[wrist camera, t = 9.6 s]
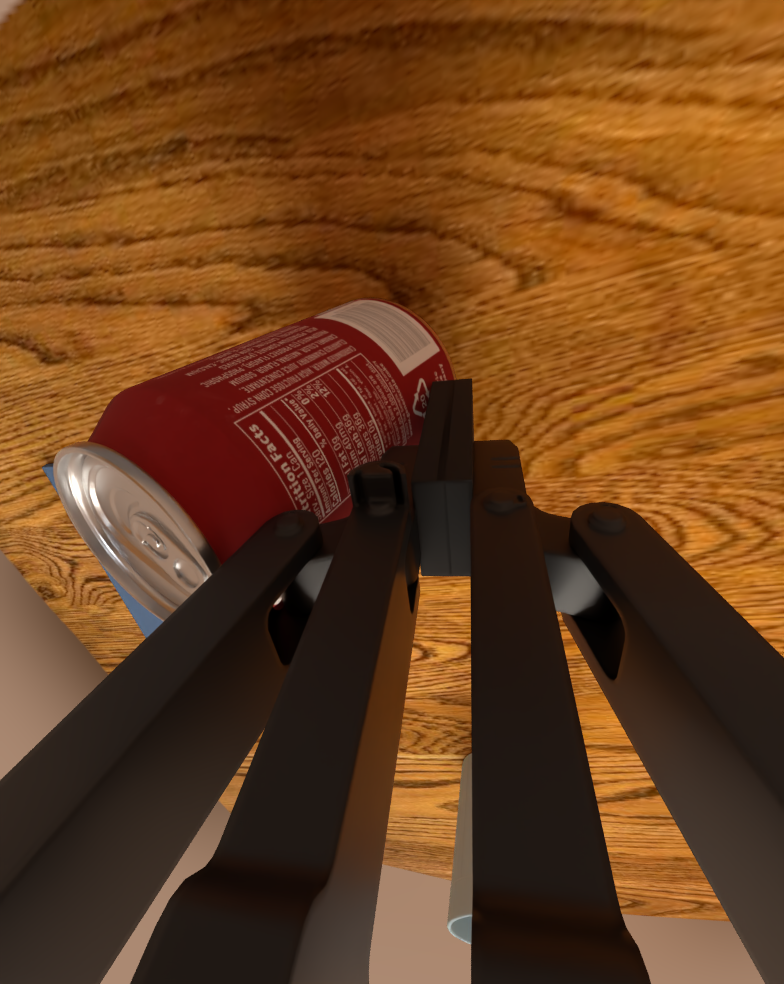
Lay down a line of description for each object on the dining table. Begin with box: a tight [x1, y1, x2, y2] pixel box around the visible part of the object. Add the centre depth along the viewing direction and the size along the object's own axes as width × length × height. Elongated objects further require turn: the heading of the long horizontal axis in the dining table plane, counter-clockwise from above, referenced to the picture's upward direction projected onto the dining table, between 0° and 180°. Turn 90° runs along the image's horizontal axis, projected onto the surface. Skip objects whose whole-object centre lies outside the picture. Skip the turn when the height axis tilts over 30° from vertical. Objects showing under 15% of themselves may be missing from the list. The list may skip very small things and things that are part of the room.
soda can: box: [53, 298, 456, 622], centre depth 15 cm, size 7×7×12 cm
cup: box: [447, 753, 473, 944], centre depth 33 cm, size 8×8×10 cm
